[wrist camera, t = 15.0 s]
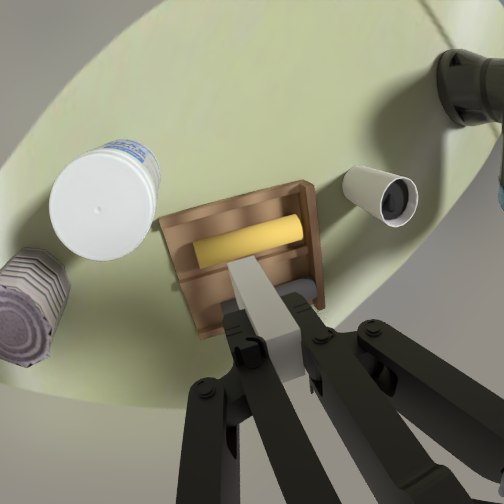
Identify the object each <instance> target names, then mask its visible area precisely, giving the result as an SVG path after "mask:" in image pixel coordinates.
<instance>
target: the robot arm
mask: <svg viewBox="0 0 504 504" xmlns="http://www.w3.org/2000/svg"><path fill="white" fill-rule="evenodd" d="M437 85H438V91H439V96H440V99H441V102H442V104H443V107H444V109H445V111H446V112H447V114H448V115H449V116H450V118H451V119H452V120H453V121H455V122H456V123H458V124H460V125H466V126H477V125H481V124H486V123H490V122H498V123H502V142H501V163H500V176H499V178H498V183H499V191H498V200H499V203H500V205H501V208H502V209H503V211H504V59H497V58H486V57H483V56H481V55H478V54H475V53H473V52H470V51H467V50H463V49H452V50H448V51H446V52H445V53H444V54H443V55H442V57H441V59H440V61H439V64H438V69H437ZM227 266H228V270H229V274H230V277H231V281H232V285H233V289H234V293H235V297H236V301H237V304H238V306H239V309H240V310H238V311H235V312H232V313H228V314H225V315H224V317H223V320H222V325H223V328H224V331H225V334H226V337H227V340H228V344H229V347H230V350H231V353H232V356H233V360H234V363H233V367H232V369H231V370H230V371H229V373H227V374H226V375H225V376H223V377H222V378H220V379H216V378H209V377H207V378H203V379H200V380H198V381H197V382H195V383H194V384H193V385H192V386H191V388H190V391H189V395H188V403H187V410H186V418H185V426H184V433H183V442H182V450H181V459H180V468H179V477H178V487H177V497H176V504H240V449H239V448H240V444H239V424H240V423H241V422H243V421H244V420H245V419H247V418H249V417H250V416H252V415H253V417H254V420H255V423H256V425H257V428H258V431H259V433H260V436H261V439H262V441H263V445H264V447H265V450H266V452H267V455H268V457H269V460H270V463H271V466H272V468H273V471H274V473H275V476H276V478H277V481H278V484H279V486H280V489H281V491H282V493H283V496H284V498H285V501H286V503H287V504H342V503H341V501H340V499H339V498H338V496H337V494H336V492H335V490H334V488H333V486H332V484H331V482H330V480H329V478H328V476H327V474H326V472H325V470H324V468H323V466H322V464H321V462H320V460H319V458H318V456H317V455H316V452H315V450H314V448H313V446H312V444H311V442H310V441H309V439H308V436H307V434H306V432H305V430H304V428H303V426H302V424H301V422H300V420H299V418H298V416H297V414H296V412H295V410H294V408H293V405H292V403H291V401H290V399H289V397H288V395H287V393H286V391H285V389H284V387H283V385H282V383H284V382H286V381H289V380H292V379H295V378H297V377H300V376H303V375H305V369H306V370H307V372H308V374H309V382H310V391H311V394H312V393H314V392H313V389H314V391H315V393H316V394H317V396H318V398H319V400H320V402H321V404H322V405H323V407H324V409H325V411H326V412H327V414H328V416H329V418H330V419H331V421H332V423H333V425H334V427H335V428H336V430H337V432H338V434H339V435H340V437H341V439H342V441H343V442H344V444H345V446H346V448H347V450H348V451H349V453H350V455H351V457H352V458H353V460H354V462H355V463H356V465H357V467H358V469H359V471H360V472H361V474H362V476H363V477H364V479H365V481H366V483H367V485H368V486H369V488H370V490H371V491H372V493H373V495H374V497H375V498H376V500H377V502H378V504H500V503H494V502H488V501H481V500H476V499H471V498H470V496H469V495H468V493H467V492H466V491H465V489H464V488H463V486H462V485H461V484H460V482H459V481H458V480H457V478H456V477H455V476H454V474H453V473H452V472H451V470H450V469H449V468H448V467H446V466H444V465H439V464H436V463H434V461H433V460H432V459H431V458H430V456H429V455H428V454H427V452H426V451H425V449H424V448H423V447H422V445H421V444H420V442H419V441H418V440H417V438H416V437H415V436H414V434H413V433H412V431H411V430H410V429H409V427H408V426H407V425H406V423H405V422H404V421H403V419H402V418H401V416H400V415H399V414H398V412H399V413H400V414H401V415H403V416H404V417H405V418H406V419H408V420H409V421H410V422H411V423H413V424H414V425H415V426H416V427H418V428H419V429H420V430H421V431H423V432H424V433H425V434H426V435H428V436H429V437H430V438H432V439H433V440H434V441H435V442H437V443H438V444H439V445H441V446H442V447H443V448H444V449H446V450H447V451H448V452H450V453H451V454H452V455H453V456H455V457H456V458H457V459H459V460H460V461H461V462H463V463H464V464H465V465H467V466H468V467H469V468H471V469H472V470H473V471H475V472H476V473H478V474H479V475H481V476H482V477H484V478H486V479H488V480H491V481H493V482H496V483H500V487H499V495H500V496H501V497H504V399H502V398H501V397H499V396H498V395H496V394H495V393H493V392H491V391H490V390H488V389H487V388H485V387H484V386H482V385H481V384H479V383H478V382H476V381H475V380H473V379H472V378H470V377H469V376H467V375H466V374H464V373H463V372H461V371H459V370H458V369H456V368H455V367H453V366H452V365H450V364H449V363H447V362H446V361H444V360H442V359H441V358H439V357H438V356H436V355H435V354H433V353H432V352H430V351H429V350H427V349H425V348H424V347H422V346H421V345H419V344H418V343H416V342H414V341H413V340H411V339H410V338H408V337H407V336H405V335H403V334H402V333H401V332H399V331H397V330H396V329H394V328H393V327H391V326H390V325H388V324H386V323H385V322H383V321H380V320H375V319H372V320H367V321H364V322H362V323H361V324H360V325H359V327H358V330H357V331H354V332H347V333H338V332H336V331H335V330H334V329H333V328H330V327H326V326H325V324H324V323H323V322H322V320H321V319H320V318H319V316H318V315H317V314H316V312H315V311H314V310H313V309H312V307H311V306H310V304H308V302H307V300H306V299H305V298H304V297H303V296H302V295H300V294H298V293H296V292H293V293H289V294H286V295H283V296H279V295H278V293H277V292H276V290H275V288H274V287H273V285H272V284H271V282H270V281H269V279H268V277H267V276H266V274H265V273H264V271H263V270H262V268H261V266H260V265H259V263H258V262H257V260H256V259H255V257H254V255H253V256H250V257H246V258H243V259H239V260H236V261H233V262H229V263H227ZM397 411H398V412H397Z"/></svg>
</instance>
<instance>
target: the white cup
mask: <svg viewBox="0 0 504 504" xmlns="http://www.w3.org/2000/svg"><path fill="white" fill-rule="evenodd" d="M342 188H343V193H344V195H345V197H346V198H347V199H348V200H350V201H351V202H353V203H354V204H356V205H358V206H359V207H361V208H362V209H364V210H365V211H367V212H369V213H370V214H372V215H373V216H375V217H376V218H378V219H379V220H381V221H382V222H384V223H385V224H387V225H388V226H392V227H399V226H402V225H404V224H405V223H407V222H408V221H409V220H410V219H411V217H412V216H413V214H414V213H415V210H416V207H417V204H418V192H417V188H416V185H415V184H414V183H413V181H412V180H411V179H408V178H406V177H403V176H399V175H396V174H392V173H388V172H384V171H381V170H377V169H373V168H369V167H365V166H361V165H360V166H354V167H352V168H351V169H349V170H348V172H347V173H346V174H345V176H344V179H343V182H342Z"/></svg>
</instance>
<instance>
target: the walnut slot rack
mask: <svg viewBox="0 0 504 504" xmlns="http://www.w3.org/2000/svg"><path fill="white" fill-rule="evenodd" d="M293 214H295V215H297V217H298V218H299V220H300V223H301V226H302V230H303V238H302V240H299V241H295V242H292V243H288V244H285V245H281V246H278V247H275V248H271V249H268V250H264V251H261V252H257V253H254V254H251V255H247V256H244V257H240V258H237V259H234V260H230V261H227V262H223V263H220V264H216V265H213V266H209V267H206V268H203V269H200V266H199V263H198V260H197V256H196V253H195V249H194V245H193V242H195V241H199V240H202V239H206V238H209V237H213V236H216V235H220V234H224V233H227V232H231V231H234V230H238V229H241V228H245V227H249V226H252V225H256V224H260V223H263V222H267V221H270V220H274V219H278V218H282V217H285V216H289V215H293ZM159 223H160V226H161V230H163V233H164V236H165V239H166V243H167V246H168V249H169V252H170V255H171V258H172V261H173V264H174V267H175V270H176V273H177V275H178V278H179V283H180V286H181V289H182V291H183V293H184V295H185V298H186V301H187V304H188V306H189V309H190V312H191V314H192V317H193V320H194V322H195V325H196V328H197V330H198V335H199V337H200V340H202V339H205V338H209V337H212V336H216V335H219V334H223V333H225V331H224V328H223V325H222V320H223V317H224V315H223V312H222V308H221V305H220V303H223V302H226V301H230V300H233V299H236V297H235V293H234V289H233V285H232V281H231V277H230V274H229V270H228V266H227V263H229V262H233V261H236V260H239V259H243V258H246V257H250V256H253V255H254V257H255V259H256V260H257V262H258V263H259V265H260V266H261V268H262V270H263V271H264V273H265V274H266V276H267V277H268V279H269V281H270V282H271V284H272V285H273V287H275V286H278V285H281V284H284V283H288V282H291V281H294V280H297V279H300V278H303V277H306V276H311V277H312V279H313V280H314V283H315V285H316V289H317V298H314V299H312V300H309V301H307V302H308V304H310V305H312V304H314V306H315V307H316V308H317V310H318V311H319V310H322V309H325V297H324V282H323V269H322V257H321V246H320V235H319V225H318V215H317V206H316V197H315V189H314V185H313V184H311V183H309V182H307V181H305V180H299V181H295V182H290V183H286V184H282V185H278V186H274V187H270V188H265V189H261V190H257V191H253V192H249V193H246V194H242V195H238V196H234V197H230V198H226V199H223V200H219V201H215V202H211V203H208V204H204V205H201V206H197V207H193V208H190V209H186V210H183V211H179V212H176V213H172V214H169V215H166V216H162V217H159Z"/></svg>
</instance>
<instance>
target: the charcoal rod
mask: <svg viewBox="0 0 504 504" xmlns="http://www.w3.org/2000/svg"><path fill="white" fill-rule="evenodd" d="M274 288H275V290H276V292H277V293H278V295H279V296H283V295H286V294H289V293H293V292H296V293H298V294H300V295H302V296H303V297H304V298H305V299H306V300H307V301H309V300H312V299H314V298H317V289H316V285H315V283H314V280H313V279H312V277H311V276H306V277H303V278H300V279H297V280H294V281H291V282H288V283H284V284H281V285H278V286H275V287H274ZM220 305H221V308H222V312H223V315H225V314H228V313H232V312H235V311H238V310H240V309H239V306H238V304H237V301H236V299H233V300H230V301H226V302H223V303H220Z"/></svg>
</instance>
